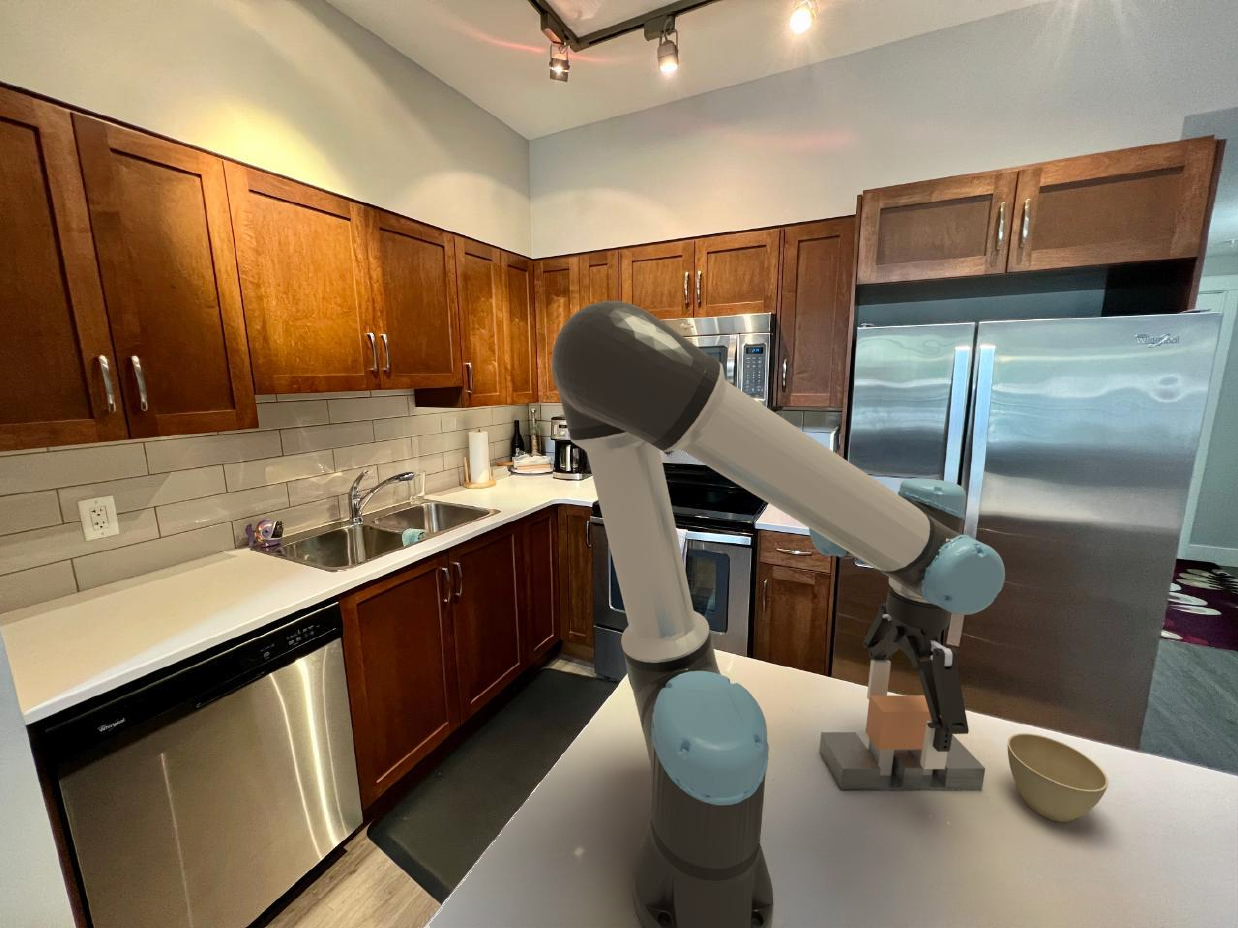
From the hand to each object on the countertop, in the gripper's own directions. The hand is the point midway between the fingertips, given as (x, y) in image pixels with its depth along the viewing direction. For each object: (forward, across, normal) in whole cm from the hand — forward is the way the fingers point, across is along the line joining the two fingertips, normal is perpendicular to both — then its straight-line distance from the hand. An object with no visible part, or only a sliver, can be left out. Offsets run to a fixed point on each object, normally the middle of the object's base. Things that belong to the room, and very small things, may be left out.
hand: (901, 729), depth 70 cm
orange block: (+6, 0, 0) cm, 6 cm away
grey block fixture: (+7, 0, 0) cm, 7 cm away
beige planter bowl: (+7, -6, -17) cm, 19 cm away
